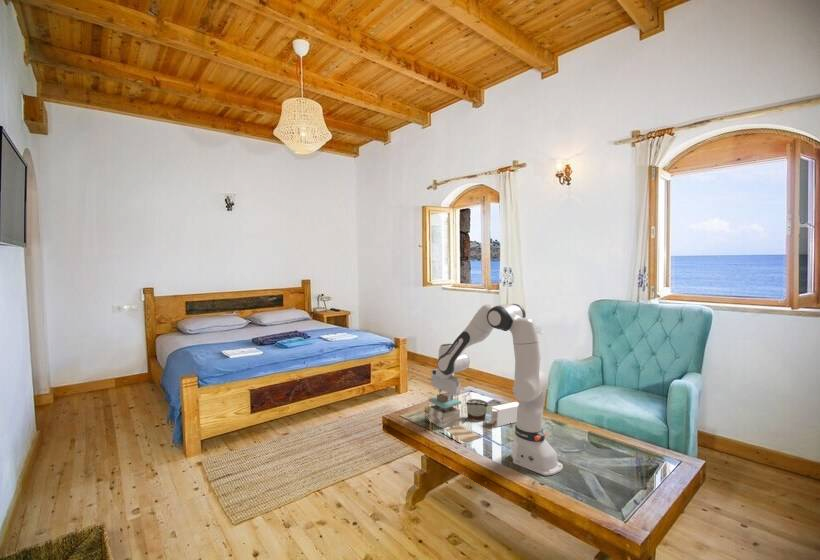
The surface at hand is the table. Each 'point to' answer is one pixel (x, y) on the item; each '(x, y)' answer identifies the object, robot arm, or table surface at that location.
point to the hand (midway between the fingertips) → (444, 398)
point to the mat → (463, 434)
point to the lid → (444, 401)
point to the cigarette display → (504, 414)
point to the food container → (476, 409)
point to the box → (444, 416)
